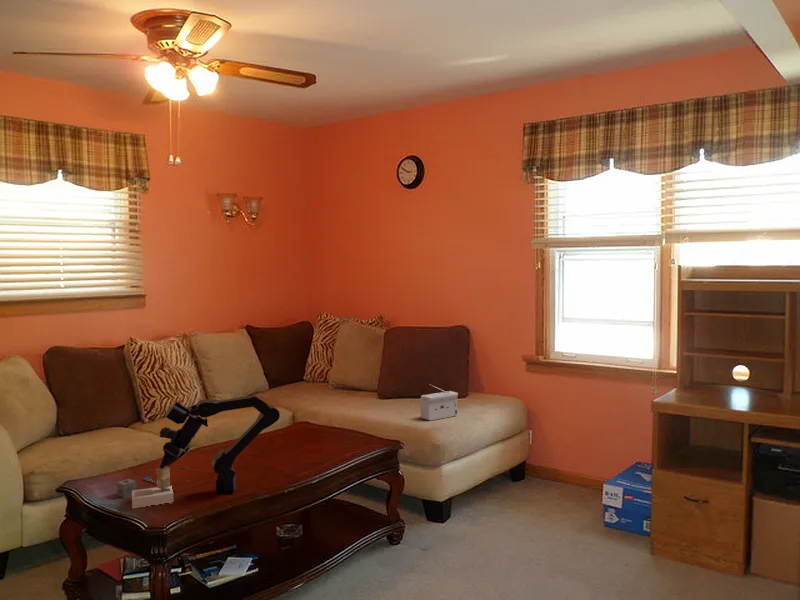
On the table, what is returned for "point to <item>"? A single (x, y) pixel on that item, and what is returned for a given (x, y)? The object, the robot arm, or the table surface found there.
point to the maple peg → (163, 478)
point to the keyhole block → (151, 497)
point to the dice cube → (126, 488)
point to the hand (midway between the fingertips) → (164, 466)
